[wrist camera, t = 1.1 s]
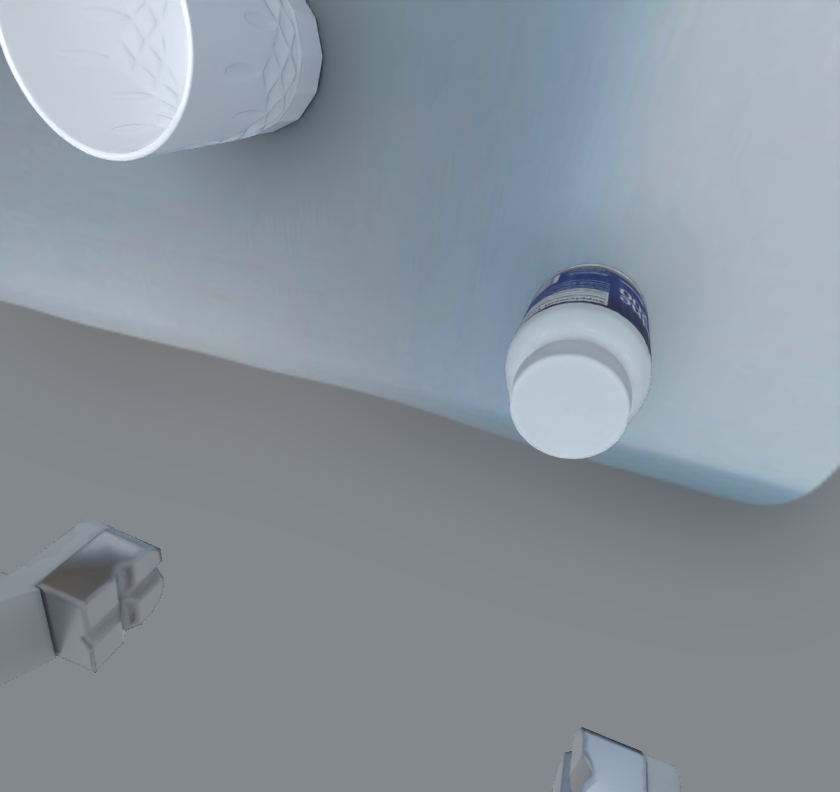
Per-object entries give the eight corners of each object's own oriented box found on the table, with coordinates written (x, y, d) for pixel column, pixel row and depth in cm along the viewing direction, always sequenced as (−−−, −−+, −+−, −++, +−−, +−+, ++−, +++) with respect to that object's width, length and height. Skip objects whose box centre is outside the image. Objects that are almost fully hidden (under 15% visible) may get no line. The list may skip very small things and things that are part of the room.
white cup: (238, -101, 24) (27, -210, 16) (368, 44, 25) (235, 13, 17) (162, 59, 28) (-38, 41, 20) (276, 179, 29) (131, 209, 21)
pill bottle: (653, 362, 27) (662, 475, 19) (540, 373, 29) (504, 479, 21) (642, 250, 25) (647, 322, 17) (522, 271, 27) (474, 344, 19)
